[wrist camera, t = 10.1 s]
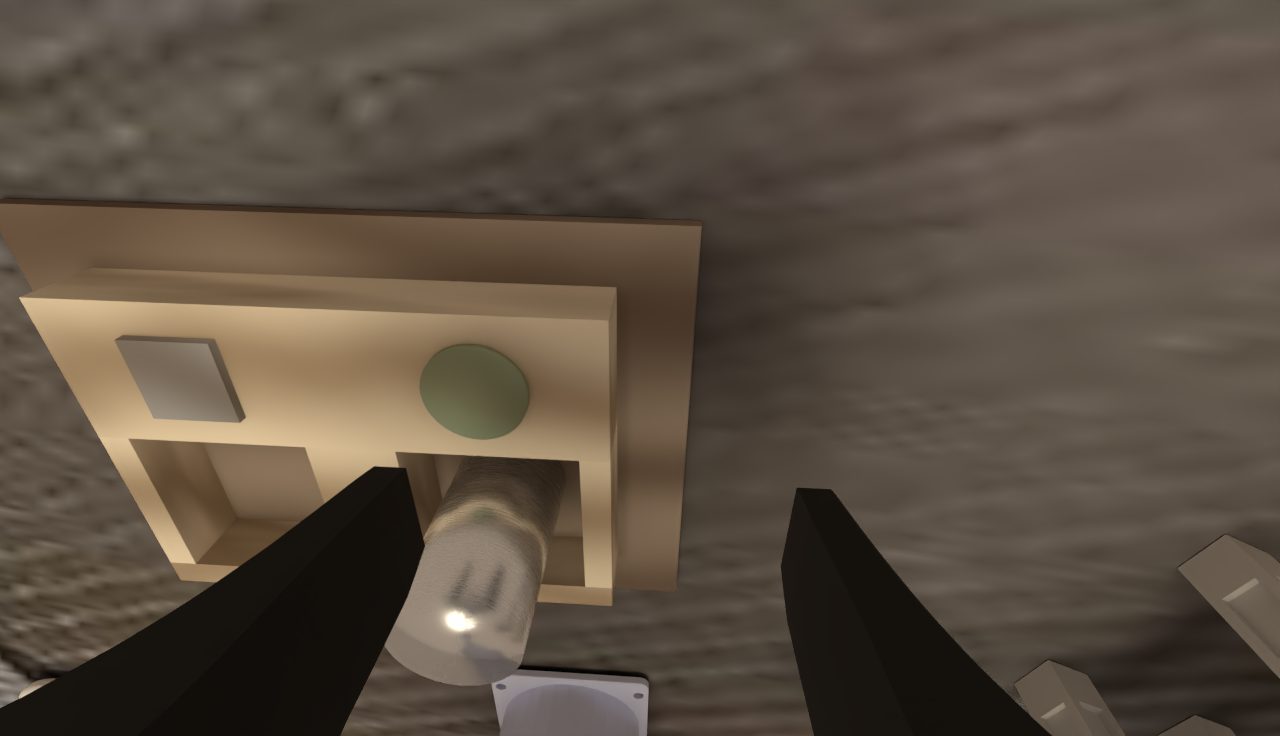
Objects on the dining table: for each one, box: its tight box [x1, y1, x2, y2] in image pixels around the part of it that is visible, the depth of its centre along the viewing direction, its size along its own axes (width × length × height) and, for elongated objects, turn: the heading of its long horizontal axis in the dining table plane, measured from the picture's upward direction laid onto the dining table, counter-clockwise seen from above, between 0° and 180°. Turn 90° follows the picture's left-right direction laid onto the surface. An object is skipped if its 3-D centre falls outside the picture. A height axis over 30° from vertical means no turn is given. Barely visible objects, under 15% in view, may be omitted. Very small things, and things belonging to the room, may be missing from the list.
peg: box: [385, 455, 566, 686], centre depth 19 cm, size 4×4×7 cm
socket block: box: [0, 198, 702, 606], centre depth 20 cm, size 16×22×3 cm
